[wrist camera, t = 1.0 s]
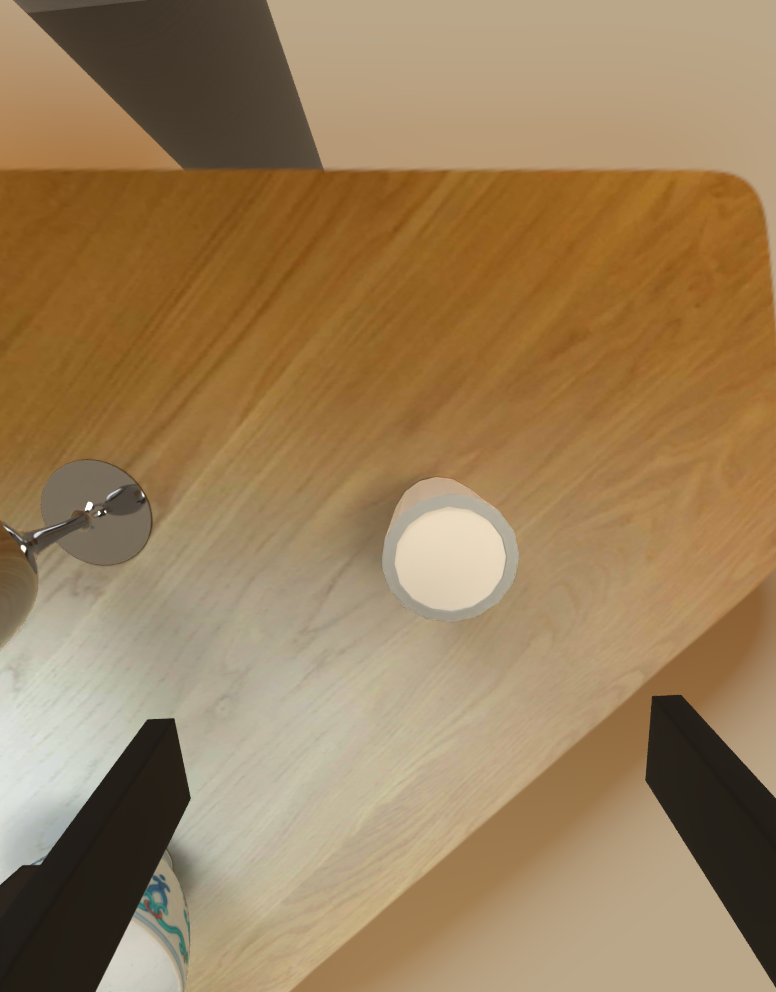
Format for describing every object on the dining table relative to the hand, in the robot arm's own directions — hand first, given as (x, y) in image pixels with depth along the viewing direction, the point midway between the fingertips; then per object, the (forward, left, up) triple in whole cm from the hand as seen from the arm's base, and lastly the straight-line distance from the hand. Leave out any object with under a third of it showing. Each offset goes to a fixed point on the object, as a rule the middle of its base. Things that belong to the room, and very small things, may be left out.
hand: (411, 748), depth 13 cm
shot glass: (-1, +2, -18) cm, 18 cm away
